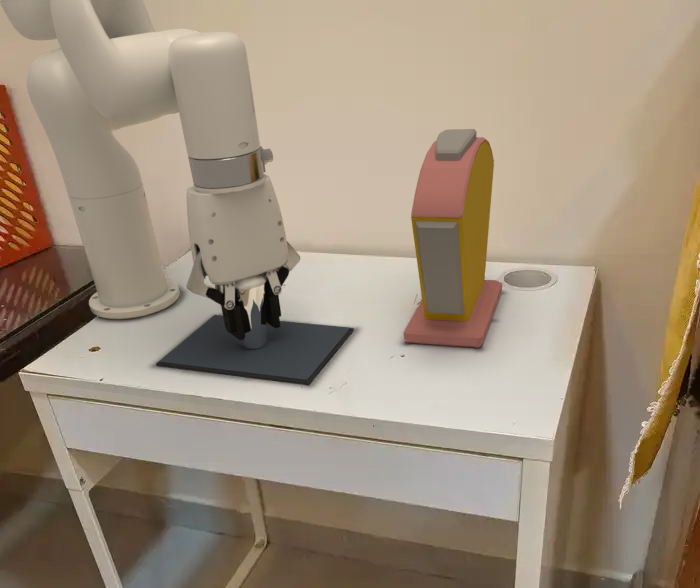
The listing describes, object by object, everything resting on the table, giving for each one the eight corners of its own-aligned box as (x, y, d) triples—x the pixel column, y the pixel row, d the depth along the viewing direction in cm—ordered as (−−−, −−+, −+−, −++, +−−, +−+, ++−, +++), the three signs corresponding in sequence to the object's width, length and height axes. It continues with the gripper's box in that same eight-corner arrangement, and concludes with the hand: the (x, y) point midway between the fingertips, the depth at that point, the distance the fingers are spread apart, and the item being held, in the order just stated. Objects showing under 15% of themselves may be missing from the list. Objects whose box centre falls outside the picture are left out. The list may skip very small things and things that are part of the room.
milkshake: (273, 353, 85) (264, 271, 79) (230, 350, 86) (218, 269, 80) (283, 337, 89) (276, 257, 83) (242, 334, 90) (232, 255, 84)
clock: (437, 281, 100) (436, 112, 88) (505, 284, 97) (513, 109, 85) (397, 354, 83) (388, 157, 71) (477, 360, 81) (483, 157, 68)
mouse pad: (156, 365, 86) (155, 362, 86) (214, 317, 96) (213, 313, 96) (308, 385, 79) (308, 381, 79) (354, 330, 90) (353, 326, 89)
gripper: (280, 149, 82) (300, 301, 92) (139, 180, 75) (178, 341, 86) (313, 159, 76) (330, 319, 87) (165, 194, 70) (203, 363, 80)
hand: (254, 328), depth 86 cm, fingers closed on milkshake, 4 cm apart
